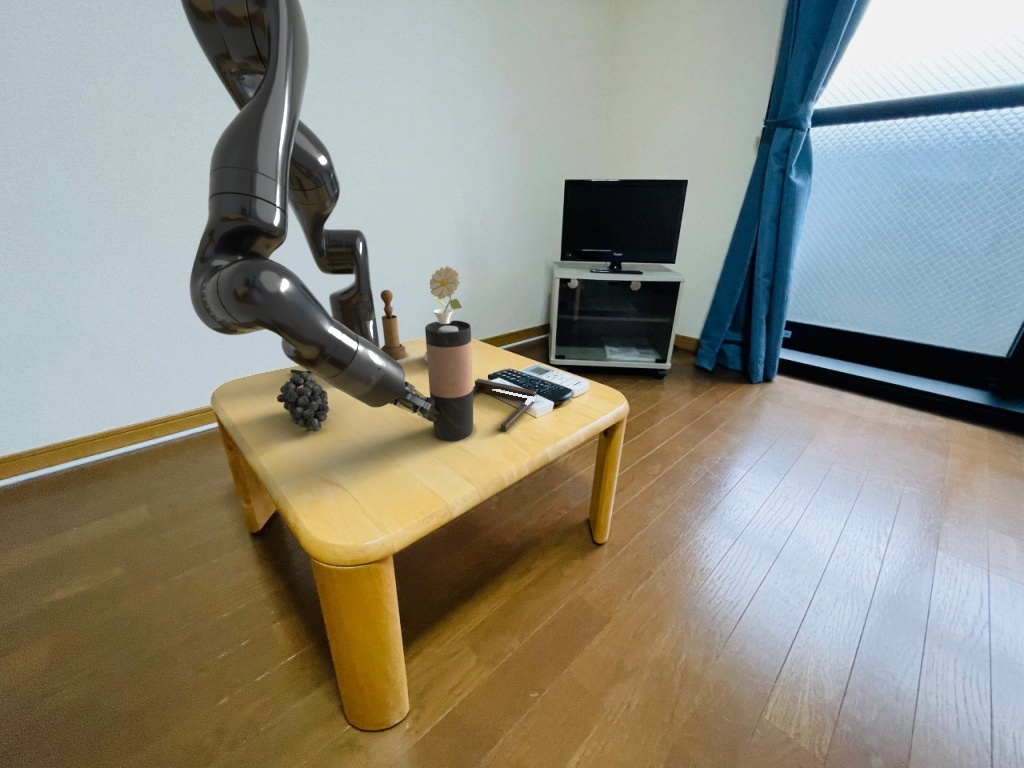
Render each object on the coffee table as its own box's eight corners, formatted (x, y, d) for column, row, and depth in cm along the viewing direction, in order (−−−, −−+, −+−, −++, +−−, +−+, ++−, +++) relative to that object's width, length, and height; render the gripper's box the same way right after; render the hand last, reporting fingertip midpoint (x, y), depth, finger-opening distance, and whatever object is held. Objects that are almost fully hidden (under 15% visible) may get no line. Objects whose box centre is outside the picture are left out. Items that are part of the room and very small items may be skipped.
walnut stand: (442, 414, 78) (441, 403, 77) (478, 388, 90) (478, 378, 89) (506, 431, 73) (506, 420, 72) (536, 401, 84) (536, 391, 83)
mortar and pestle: (399, 361, 104) (391, 293, 97) (376, 359, 106) (367, 292, 98) (409, 353, 110) (403, 288, 103) (388, 351, 112) (380, 287, 104)
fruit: (319, 390, 66) (309, 360, 78) (270, 415, 64) (267, 380, 75) (344, 427, 71) (331, 394, 83) (299, 452, 69) (292, 414, 80)
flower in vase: (416, 360, 105) (407, 264, 95) (451, 351, 112) (446, 260, 102) (443, 375, 96) (437, 270, 86) (480, 364, 103) (478, 266, 93)
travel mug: (458, 446, 68) (453, 335, 60) (424, 434, 71) (414, 328, 63) (482, 426, 74) (480, 323, 66) (449, 416, 77) (443, 317, 69)
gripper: (407, 357, 51) (473, 408, 65) (349, 338, 58) (419, 387, 72) (377, 408, 49) (451, 449, 63) (321, 382, 56) (399, 423, 70)
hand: (434, 416), depth 67 cm, fingers closed
